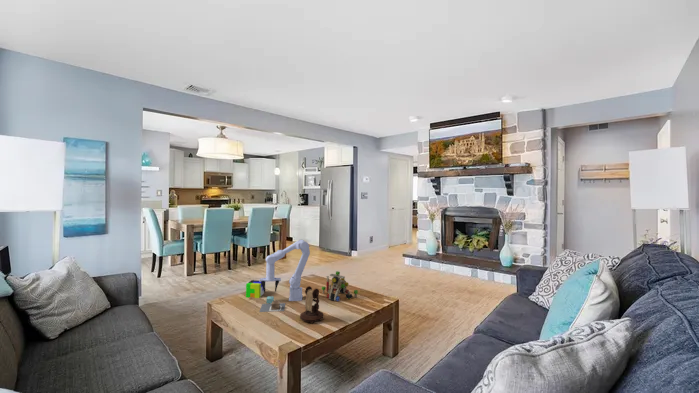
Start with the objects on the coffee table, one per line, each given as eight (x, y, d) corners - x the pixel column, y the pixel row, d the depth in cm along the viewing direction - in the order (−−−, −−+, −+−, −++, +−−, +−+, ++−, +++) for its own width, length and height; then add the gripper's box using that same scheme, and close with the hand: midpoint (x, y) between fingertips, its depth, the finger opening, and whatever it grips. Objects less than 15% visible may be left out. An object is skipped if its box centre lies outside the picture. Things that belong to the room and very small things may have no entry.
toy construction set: (313, 294, 236) (314, 268, 236) (336, 288, 252) (336, 263, 251) (335, 304, 216) (336, 275, 216) (358, 297, 232) (359, 270, 231)
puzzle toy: (263, 293, 236) (264, 280, 236) (258, 298, 226) (259, 284, 226) (251, 292, 237) (251, 280, 237) (246, 297, 227) (246, 284, 227)
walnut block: (279, 306, 209) (279, 301, 208) (279, 309, 204) (279, 303, 203) (272, 307, 208) (272, 301, 208) (271, 310, 203) (271, 304, 203)
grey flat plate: (285, 303, 215) (285, 302, 215) (284, 311, 202) (284, 310, 202) (262, 304, 213) (262, 303, 213) (259, 312, 199) (259, 311, 199)
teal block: (273, 301, 219) (273, 296, 219) (272, 304, 215) (273, 298, 215) (267, 302, 219) (267, 296, 219) (266, 304, 214) (266, 298, 214)
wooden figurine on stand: (295, 319, 190) (295, 287, 190) (312, 312, 202) (312, 282, 201) (311, 326, 181) (311, 293, 180) (328, 318, 192) (328, 287, 192)
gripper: (281, 270, 221) (280, 289, 222) (260, 271, 219) (260, 289, 220) (280, 273, 214) (280, 292, 215) (259, 273, 212) (259, 293, 213)
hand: (270, 291), depth 217 cm, fingers open, 7 cm apart
